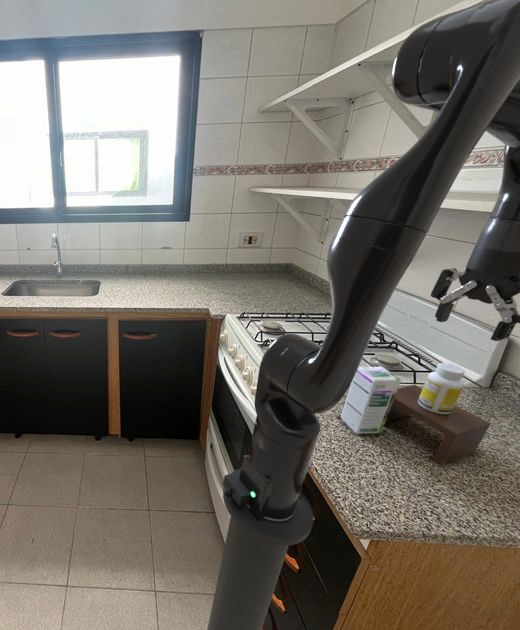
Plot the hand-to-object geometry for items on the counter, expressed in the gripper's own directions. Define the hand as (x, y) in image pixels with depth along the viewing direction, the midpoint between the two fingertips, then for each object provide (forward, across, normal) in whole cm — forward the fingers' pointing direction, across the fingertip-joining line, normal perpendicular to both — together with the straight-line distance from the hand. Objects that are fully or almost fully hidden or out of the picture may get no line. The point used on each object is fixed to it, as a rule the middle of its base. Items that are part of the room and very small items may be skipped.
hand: (467, 330), depth 66 cm
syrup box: (+27, -7, -8) cm, 29 cm away
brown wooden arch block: (+27, 0, +1) cm, 27 cm away
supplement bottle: (+19, 0, +1) cm, 19 cm away
